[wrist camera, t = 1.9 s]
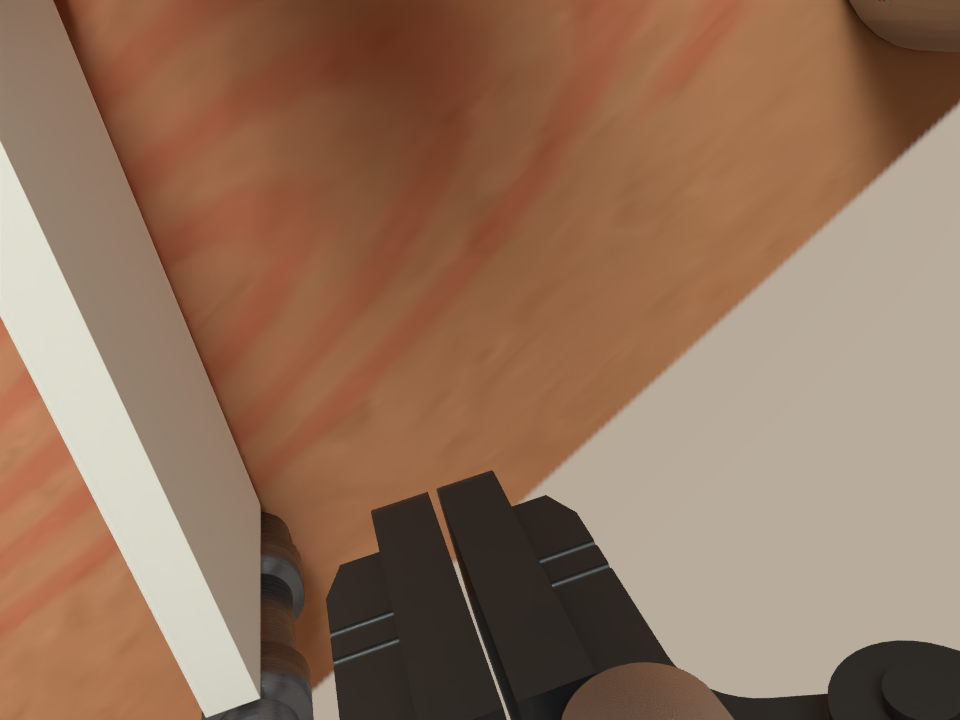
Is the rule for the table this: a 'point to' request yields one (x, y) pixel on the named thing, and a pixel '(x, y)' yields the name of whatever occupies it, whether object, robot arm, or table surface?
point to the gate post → (278, 633)
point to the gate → (122, 363)
